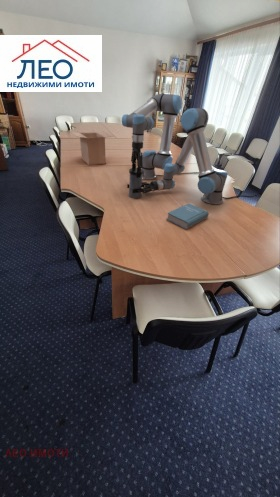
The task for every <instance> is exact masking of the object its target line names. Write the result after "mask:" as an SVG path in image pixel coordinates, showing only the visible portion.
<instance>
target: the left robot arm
mask: <svg viewBox="0 0 280 497" xmlns="http://www.w3.org/2000/svg"><path fill="white" fill-rule="evenodd" d="M182 109H183V100H182V97H181V96H180V95H179V94H174V93H173V94H171V93H157V94H155V95H153V96H152V97H149V98H148V99H147V101H146V102H145V103H144V104H142V105H141V106H139V107H138V108H137V109H136V110H134V111H132V112H131V113H130V114H128V113H127V114H123V115H122V117H121V125H122V126H123V127H126V128H129V129H132V133H131V134H132V135H131V141H132V142H131V148H132V149H131V158H130V162H131V168H137V178H140V177H141V169H142V170H143V175H142V180H146V181H154V180H156V178H157V177H163V175H164V174H156V169H160V170H163V171H164V167H165V164H167V163H171V164H173V161H174V160H173V156H172V153H171V145H172V140H173V135H174V134H173V133H174V127H175V121H176V119H177V117H178V115H179V114H180V113H181V112H182ZM155 112H162V116H163V124H162V131H161V136H160V137H161V138H160V145H159V150H153V149H151V150H150V149H149V150H145V151H143V152H142V149H144V139H145V131H150V130H151V129H153V128H154V126H155V120H154V119H153V117H151V116H149V115H150V114H153V113H155ZM142 155H143V156H142ZM142 157H143V158H142ZM186 174H188V175H189V172H181V173H179V174H176V175H186ZM191 174H199V171H198V172H197V171H196V172H195V171H194V172H193V171H192V172H191ZM176 175H175V176H176Z"/></svg>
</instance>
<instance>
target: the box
mask: <svg viewBox="0 0 280 497" xmlns="http://www.w3.org/2000/svg"><path fill="white" fill-rule="evenodd" d="M70 133H71V134H72V135H74V136H75V137H77V138H79V144H80V153H81V160H83V162H85V163H86V165H87V166H95V165H97V166H98V165H106V163H107V162H106V158H107V157H106V138H113V137H114V136H113V135H111V134H109V133H108V132H105V131H98V132H96V131H95V130H92V129H91V130H77V132H76V131H70Z"/></svg>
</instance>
